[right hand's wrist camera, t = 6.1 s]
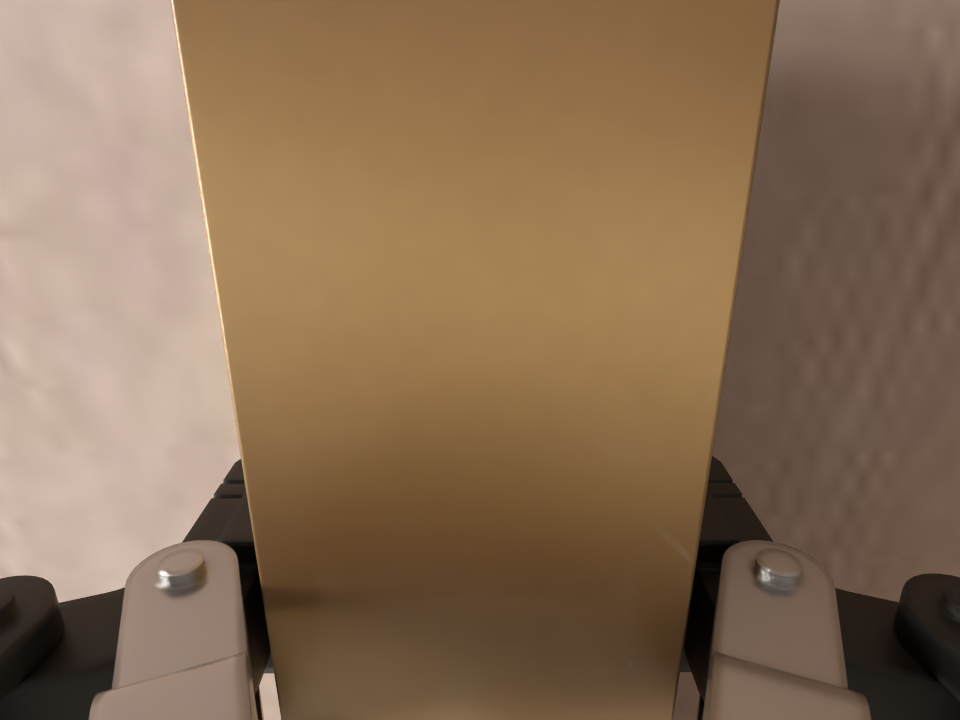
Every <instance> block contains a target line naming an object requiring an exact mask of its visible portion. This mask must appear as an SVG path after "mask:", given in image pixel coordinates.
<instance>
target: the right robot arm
mask: <svg viewBox="0 0 960 720" xmlns="http://www.w3.org/2000/svg"><path fill="white" fill-rule="evenodd" d="M680 672H692V674H693V677H694V680H695V682H696V685H697V688H698V691H699V693H700V696H699V702H698V708H697V716H696V720H960V577H955V576H951V575H944V574H922V575H918V576H915V577H913V578H911V579H909V580H908V581H907V582H906V583H905V585H904V587H903V590H902V593H901V597H900V600H899V602H894V601H890V600H885V599H880V598H875V597H871V596H866V595H861V594H857V593H852V592H848V591H844V590H840V589H837V588H835V585H834V581H833V579H832V577H831V575H830V573H829V572H828V571H827V570H826V568H825V567H824V566H822V565H821V564H820V563H819V562H818V561H817V560H815V559H814V558H813V557H811V556H809V555H808V554H806V553H804V552H802V551H800V550H798V549H796V548H793V547H791V546H788V545H785V544H781V543H777V542H773V541H772V539H771V538H770V536H769V534H768V533H767V531H766V530H765V528H764V527H763V525H762V524H761V522H760V521H759V519H758V518H757V516H756V515H755V513H754V512H753V510H752V509H751V507H750V506H749V504H748V502H747V501H746V499H745V498H742V493H741V492H740V490H739V489H738V487H737V486H736V484H735V483H733V482H732V478H731V477H730V475H729V474H728V472H727V471H726V469H725V467H724V466H723V464H722V463H721V462H720V461H719V460H717V459H716V458H714V457H713V456H712V459H711V465H710V472H709V479H708V486H707V492H706V499H705V506H704V512H703V519H702V526H701V533H700V539H699V546H698V553H697V560H696V566H695V573H694V580H693V586H692V593H691V600H690V607H689V613H688V620H687V627H686V634H685V640H684V647H683V654H682V660H681V667H680ZM264 673H274V668H273V661H272V655H271V648H270V642H269V636H268V629H267V623H266V616H265V610H264V603H263V597H262V590H261V584H260V577H259V571H258V564H257V558H256V551H255V545H254V538H253V532H252V526H251V519H250V513H249V506H248V500H247V493H246V487H245V480H244V474H243V467H242V461H241V459H240V460H238V461H237V462H236V463H235V464H234V465H233V467H232V468H231V470H230V471H229V473H228V474H227V476H226V477H225V479H224V483H223V484H221V485H220V486H219V488H218V489H217V491H216V492H215V494H214V499H211V500H210V501H209V503H208V504H207V506H206V507H205V509H204V510H203V512H202V513H201V515H200V516H199V518H198V519H197V521H196V522H195V524H194V525H193V527H192V528H191V530H190V531H189V533H188V534H187V536H186V537H185V539H184V540H183V542H182V543H179V544H175V545H172V546H169V547H167V548H164V549H162V550H160V551H158V552H156V553H154V554H152V555H151V556H149V557H147V558H146V559H145V560H143V561H142V562H141V563H140V564H139V565H138V566H136V567H135V568H134V570H133V571H132V572H131V573H130V575H129V577H128V579H127V581H126V585H125V588H122V589H119V590H116V591H112V592H108V593H104V594H99V595H94V596H90V597H85V598H80V599H76V600H71V601H66V602H62V603H58V600H57V596H56V593H55V590H54V588H53V586H52V584H51V583H50V582H49V581H47V580H45V579H43V578H40V577H36V576H13V577H6V578H2V579H0V720H264V716H263V708H262V702H261V696H260V690H259V684H260V682H261V679H262V676H263V674H264Z"/></svg>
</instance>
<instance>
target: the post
mask: <svg viewBox="0 0 960 720" xmlns="http://www.w3.org/2000/svg"><path fill="white" fill-rule="evenodd" d="M779 1H780V0H170V2H171V8H172V15H173V21H174V27H175V34H176V40H177V47H178V53H179V60H180V66H181V73H182V79H183V86H184V92H185V99H186V105H187V112H188V118H189V125H190V131H191V137H192V144H193V150H194V157H195V163H196V170H197V176H198V183H199V189H200V196H201V202H202V209H203V215H204V222H205V228H206V234H207V241H208V247H209V254H210V260H211V267H212V273H213V280H214V286H215V293H216V299H217V306H218V312H219V319H220V325H221V331H222V338H223V344H224V351H225V357H226V364H227V370H228V377H229V383H230V390H231V396H232V403H233V409H234V416H235V422H236V429H237V435H238V441H239V448H240V454H241V461H242V467H243V474H244V480H245V487H246V493H247V500H248V506H249V513H250V519H251V526H252V532H253V538H254V545H255V551H256V558H257V564H258V571H259V577H260V584H261V590H262V597H263V603H264V610H265V616H266V623H267V629H268V636H269V642H270V648H271V655H272V661H273V668H274V674H275V681H276V687H277V694H278V700H279V707H280V713H281V720H673V714H674V707H675V701H676V694H677V687H678V681H679V674H680V667H681V660H682V654H683V647H684V640H685V634H686V627H687V620H688V613H689V607H690V600H691V593H692V586H693V580H694V573H695V566H696V560H697V553H698V546H699V539H700V533H701V526H702V519H703V512H704V506H705V499H706V492H707V486H708V479H709V472H710V465H711V459H712V452H713V445H714V438H715V432H716V425H717V418H718V412H719V405H720V398H721V391H722V385H723V378H724V371H725V364H726V358H727V351H728V344H729V338H730V331H731V324H732V317H733V311H734V304H735V297H736V290H737V284H738V277H739V270H740V264H741V257H742V250H743V243H744V237H745V230H746V223H747V216H748V210H749V203H750V196H751V190H752V183H753V176H754V169H755V163H756V156H757V149H758V142H759V136H760V129H761V122H762V116H763V109H764V102H765V95H766V89H767V82H768V75H769V68H770V62H771V55H772V48H773V42H774V35H775V28H776V21H777V15H778V8H779Z"/></svg>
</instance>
